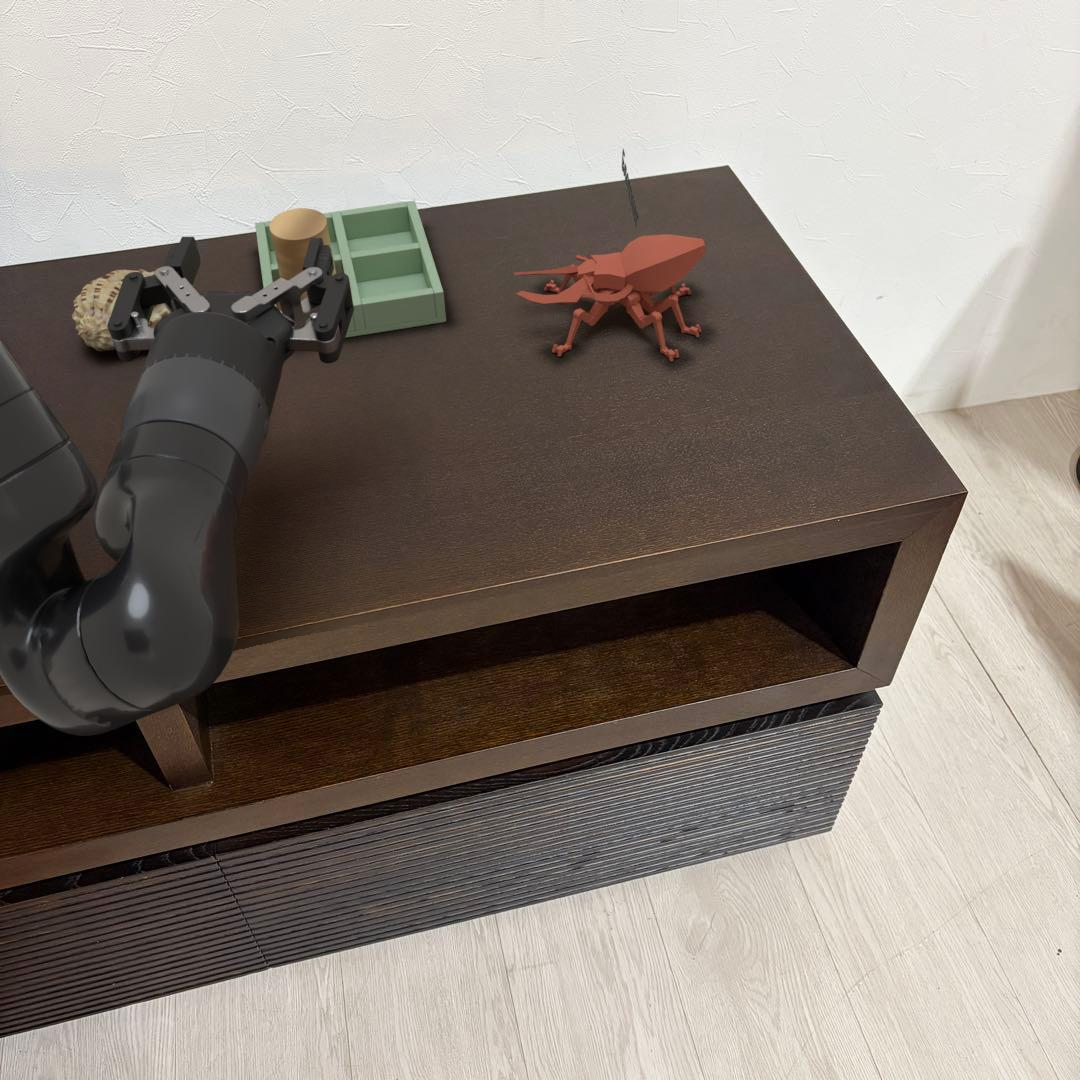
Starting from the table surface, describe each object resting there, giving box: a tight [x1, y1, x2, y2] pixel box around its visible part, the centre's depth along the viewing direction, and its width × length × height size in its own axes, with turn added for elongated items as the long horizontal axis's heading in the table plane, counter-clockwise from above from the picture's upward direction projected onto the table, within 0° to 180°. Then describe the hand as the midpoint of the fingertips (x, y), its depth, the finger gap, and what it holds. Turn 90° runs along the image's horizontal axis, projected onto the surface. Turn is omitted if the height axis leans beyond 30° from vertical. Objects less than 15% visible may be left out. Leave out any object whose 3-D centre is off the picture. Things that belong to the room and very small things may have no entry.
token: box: [269, 207, 336, 301], centre depth 87 cm, size 4×4×8 cm
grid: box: [254, 200, 447, 339], centre depth 92 cm, size 14×14×3 cm
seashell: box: [71, 268, 171, 352], centre depth 88 cm, size 8×6×10 cm
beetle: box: [513, 148, 707, 362], centre depth 86 cm, size 15×12×13 cm
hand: (255, 248), depth 73 cm, fingers open, 8 cm apart
